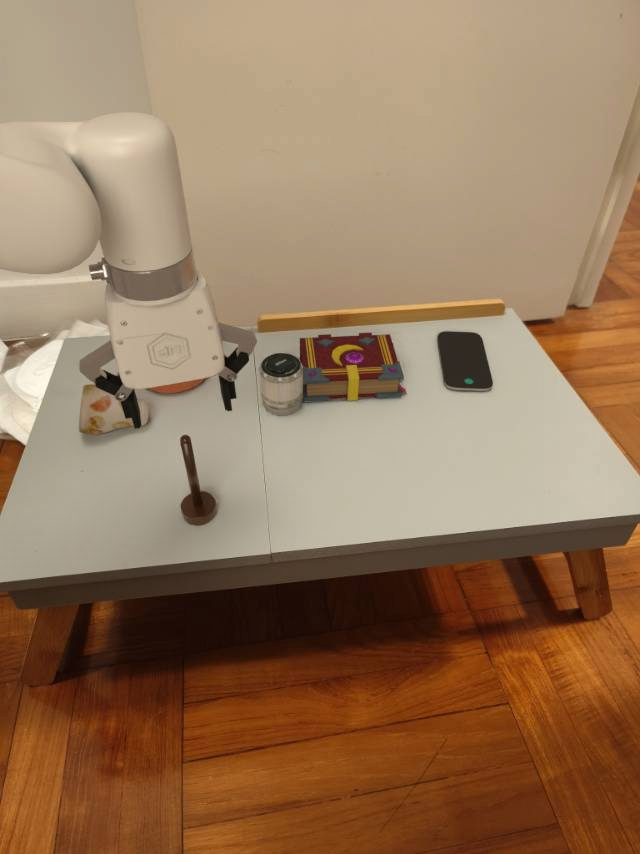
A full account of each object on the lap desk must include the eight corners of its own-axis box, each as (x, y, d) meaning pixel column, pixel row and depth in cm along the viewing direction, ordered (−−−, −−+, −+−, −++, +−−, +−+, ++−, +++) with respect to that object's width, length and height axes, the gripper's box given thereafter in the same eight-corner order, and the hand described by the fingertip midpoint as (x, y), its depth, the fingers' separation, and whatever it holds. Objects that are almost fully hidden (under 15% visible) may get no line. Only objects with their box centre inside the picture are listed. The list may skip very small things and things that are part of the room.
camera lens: (311, 403, 93) (311, 362, 88) (280, 423, 90) (278, 381, 85) (284, 384, 96) (283, 343, 91) (253, 402, 93) (249, 361, 88)
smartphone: (445, 386, 95) (436, 330, 106) (444, 390, 96) (435, 334, 106) (495, 388, 95) (481, 331, 106) (493, 392, 95) (480, 336, 106)
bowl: (142, 401, 93) (135, 375, 90) (137, 358, 101) (130, 333, 97) (214, 389, 95) (210, 363, 92) (204, 348, 103) (200, 323, 100)
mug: (158, 437, 88) (110, 405, 80) (104, 457, 91) (52, 427, 83) (160, 395, 92) (114, 359, 84) (108, 414, 95) (59, 382, 87)
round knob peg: (184, 528, 76) (166, 453, 67) (180, 502, 79) (162, 426, 70) (219, 521, 77) (207, 446, 68) (214, 495, 80) (201, 419, 71)
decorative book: (298, 358, 101) (298, 333, 98) (395, 354, 102) (398, 329, 99) (303, 404, 93) (303, 378, 90) (408, 398, 94) (412, 373, 91)
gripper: (48, 306, 50) (101, 451, 62) (256, 276, 53) (268, 419, 65) (51, 262, 55) (99, 403, 67) (240, 237, 59) (254, 376, 71)
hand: (182, 411), depth 66 cm, fingers open, 9 cm apart
